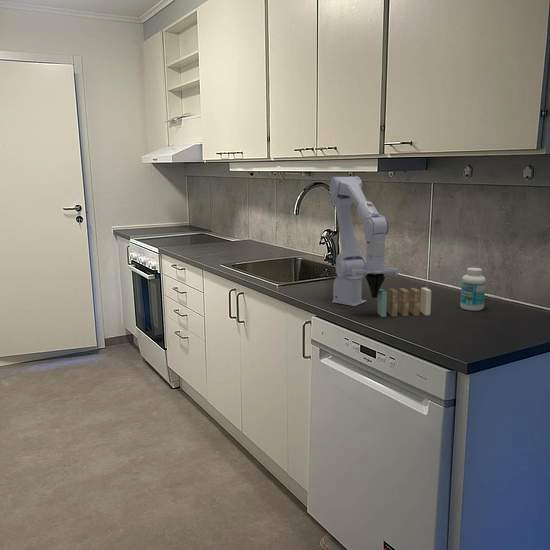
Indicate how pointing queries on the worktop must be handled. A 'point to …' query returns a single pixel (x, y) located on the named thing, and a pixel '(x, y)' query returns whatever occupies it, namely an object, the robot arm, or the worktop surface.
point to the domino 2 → (393, 302)
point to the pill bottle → (473, 290)
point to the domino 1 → (382, 302)
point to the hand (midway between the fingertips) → (374, 297)
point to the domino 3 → (404, 302)
